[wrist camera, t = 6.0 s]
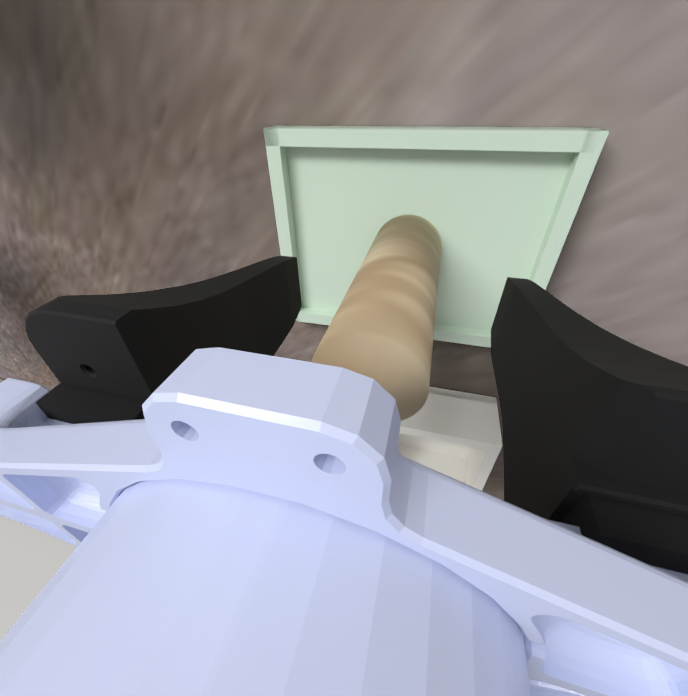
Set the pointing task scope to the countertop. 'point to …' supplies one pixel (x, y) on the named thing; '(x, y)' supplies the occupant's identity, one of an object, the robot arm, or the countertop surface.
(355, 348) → the dowel
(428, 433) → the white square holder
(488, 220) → the tray
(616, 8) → the countertop surface
